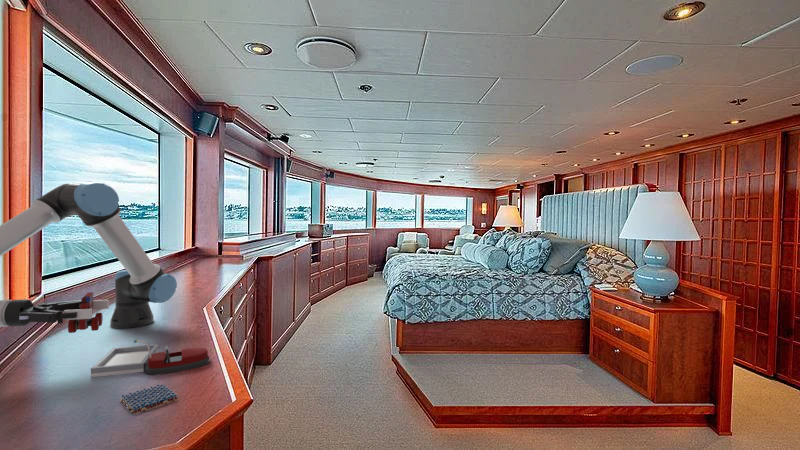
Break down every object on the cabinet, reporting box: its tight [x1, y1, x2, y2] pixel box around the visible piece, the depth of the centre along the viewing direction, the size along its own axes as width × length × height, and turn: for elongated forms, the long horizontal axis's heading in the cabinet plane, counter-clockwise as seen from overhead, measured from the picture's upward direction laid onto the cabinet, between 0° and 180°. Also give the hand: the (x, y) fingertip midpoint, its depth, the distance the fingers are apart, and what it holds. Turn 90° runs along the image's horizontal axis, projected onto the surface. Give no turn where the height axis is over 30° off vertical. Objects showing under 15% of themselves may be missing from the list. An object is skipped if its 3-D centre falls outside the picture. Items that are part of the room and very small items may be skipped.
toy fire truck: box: [67, 291, 104, 334], centre depth 119 cm, size 7×12×10 cm, turn 29°
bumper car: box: [133, 339, 210, 376], centre depth 121 cm, size 10×20×10 cm, turn 123°
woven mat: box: [119, 384, 180, 415], centre depth 99 cm, size 10×11×2 cm
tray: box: [90, 344, 160, 378], centre depth 123 cm, size 18×13×2 cm
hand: (100, 308), depth 120 cm, fingers closed on toy fire truck, 12 cm apart
